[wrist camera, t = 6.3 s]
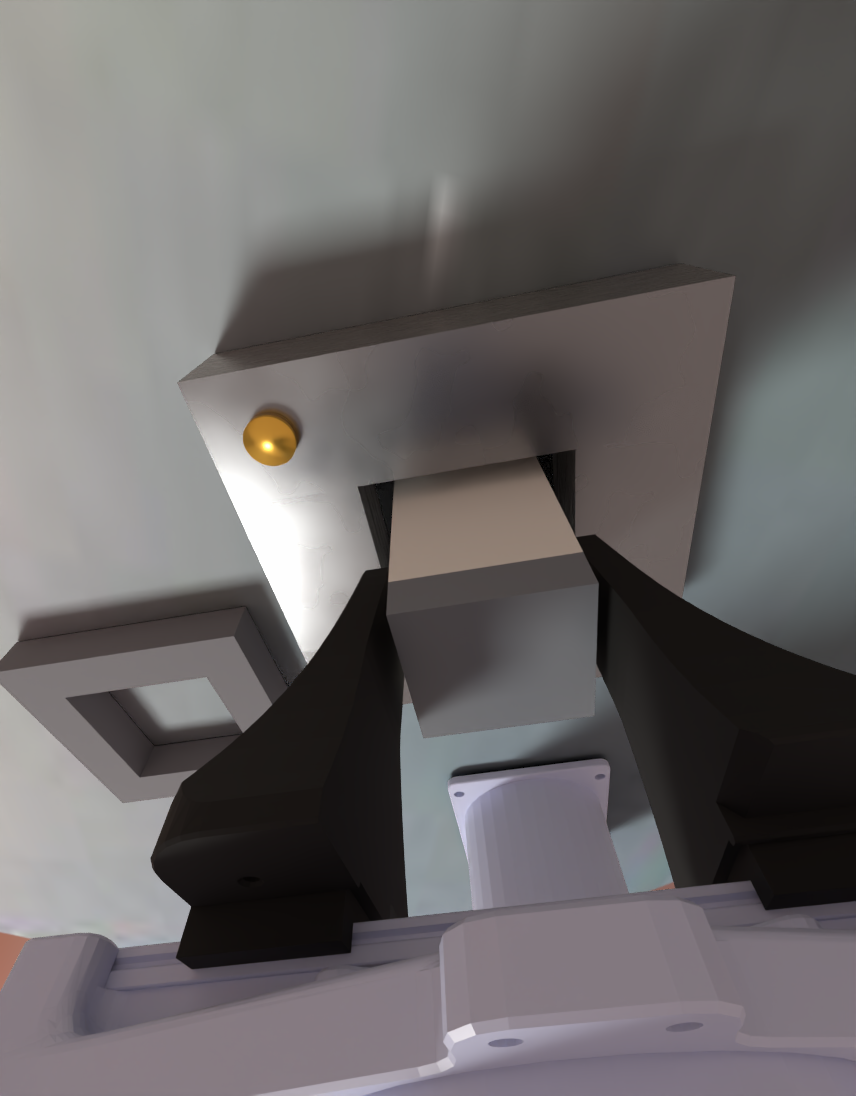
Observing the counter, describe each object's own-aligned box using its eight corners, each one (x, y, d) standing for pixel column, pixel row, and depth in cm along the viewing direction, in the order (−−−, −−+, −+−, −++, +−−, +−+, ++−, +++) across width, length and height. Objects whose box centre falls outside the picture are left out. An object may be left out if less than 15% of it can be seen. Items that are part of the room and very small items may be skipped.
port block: (642, 616, 19) (674, 673, 17) (338, 661, 20) (329, 721, 18) (680, 263, 12) (744, 277, 10) (213, 354, 13) (171, 386, 11)
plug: (533, 544, 17) (594, 716, 11) (419, 561, 17) (423, 738, 12) (525, 436, 15) (598, 583, 9) (395, 458, 15) (386, 615, 9)
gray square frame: (318, 747, 23) (313, 778, 22) (137, 772, 24) (122, 802, 23) (245, 606, 18) (233, 636, 17) (16, 642, 19) (-11, 673, 17)
